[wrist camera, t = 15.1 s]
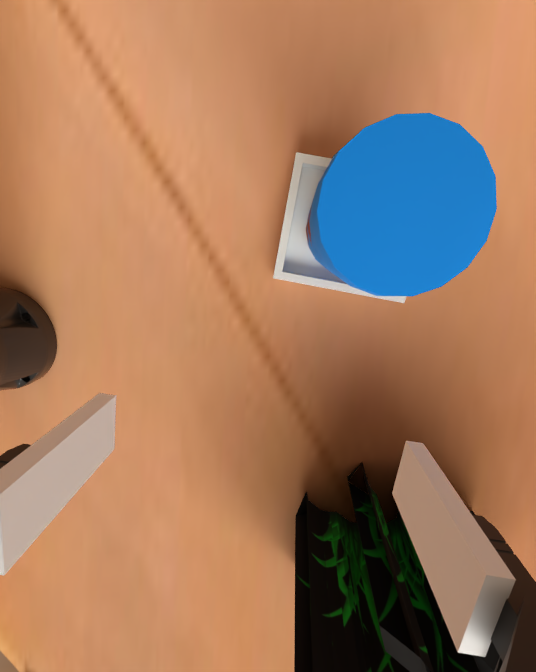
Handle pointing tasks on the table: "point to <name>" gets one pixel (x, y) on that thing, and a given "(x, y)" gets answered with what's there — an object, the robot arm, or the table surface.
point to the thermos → (403, 206)
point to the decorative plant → (368, 597)
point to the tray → (293, 246)
